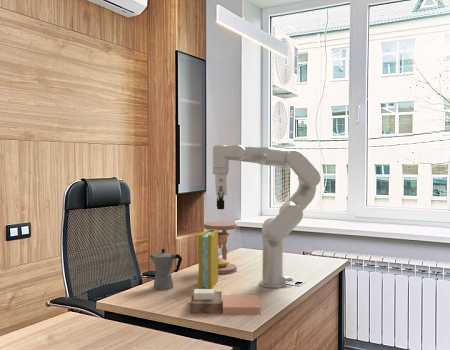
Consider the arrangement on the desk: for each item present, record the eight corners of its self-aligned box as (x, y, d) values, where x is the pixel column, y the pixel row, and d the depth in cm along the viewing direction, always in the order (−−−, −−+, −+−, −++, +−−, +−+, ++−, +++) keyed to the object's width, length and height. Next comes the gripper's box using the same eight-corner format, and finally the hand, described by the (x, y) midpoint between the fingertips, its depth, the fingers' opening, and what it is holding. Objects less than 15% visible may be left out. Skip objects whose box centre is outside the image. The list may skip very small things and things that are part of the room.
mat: (257, 300, 195) (257, 295, 195) (260, 313, 179) (260, 307, 179) (222, 300, 195) (222, 295, 195) (222, 313, 179) (222, 307, 179)
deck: (221, 300, 195) (221, 291, 195) (221, 313, 179) (221, 303, 179) (193, 300, 195) (193, 291, 195) (190, 313, 179) (190, 303, 179)
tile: (214, 295, 190) (214, 288, 190) (213, 299, 184) (213, 293, 184) (194, 295, 190) (194, 288, 190) (193, 299, 184) (193, 293, 184)
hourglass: (225, 276, 236) (225, 227, 235) (197, 271, 246) (197, 224, 245) (242, 269, 251) (242, 222, 250) (215, 265, 260) (215, 220, 259)
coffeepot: (146, 290, 211) (146, 250, 211) (151, 284, 221) (151, 246, 220) (180, 290, 210) (180, 251, 209) (183, 285, 219) (183, 247, 219)
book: (212, 290, 211) (212, 235, 210) (197, 289, 213) (197, 234, 212) (219, 280, 228) (219, 229, 227) (206, 279, 229) (206, 229, 228)
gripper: (229, 172, 209) (229, 210, 209) (227, 171, 226) (227, 206, 226) (212, 172, 208) (212, 210, 209) (212, 170, 225) (212, 206, 226)
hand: (220, 208), depth 218 cm, fingers open, 9 cm apart
